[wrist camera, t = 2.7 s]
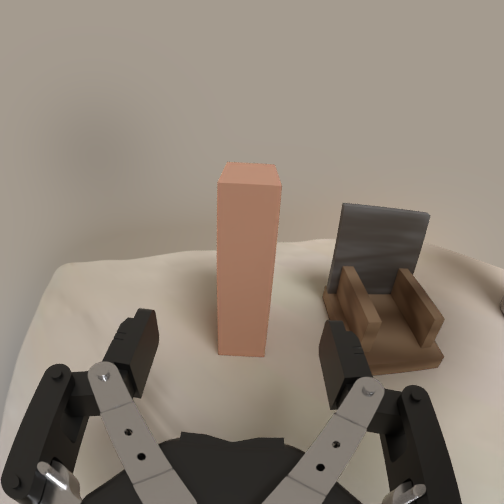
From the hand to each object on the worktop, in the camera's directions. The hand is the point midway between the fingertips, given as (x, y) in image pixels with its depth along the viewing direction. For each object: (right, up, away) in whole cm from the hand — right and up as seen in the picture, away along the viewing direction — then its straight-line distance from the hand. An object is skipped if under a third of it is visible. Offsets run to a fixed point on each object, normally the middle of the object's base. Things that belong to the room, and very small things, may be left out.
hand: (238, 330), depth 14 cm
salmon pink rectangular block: (0, -4, +15) cm, 15 cm away
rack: (+14, -5, +15) cm, 21 cm away
